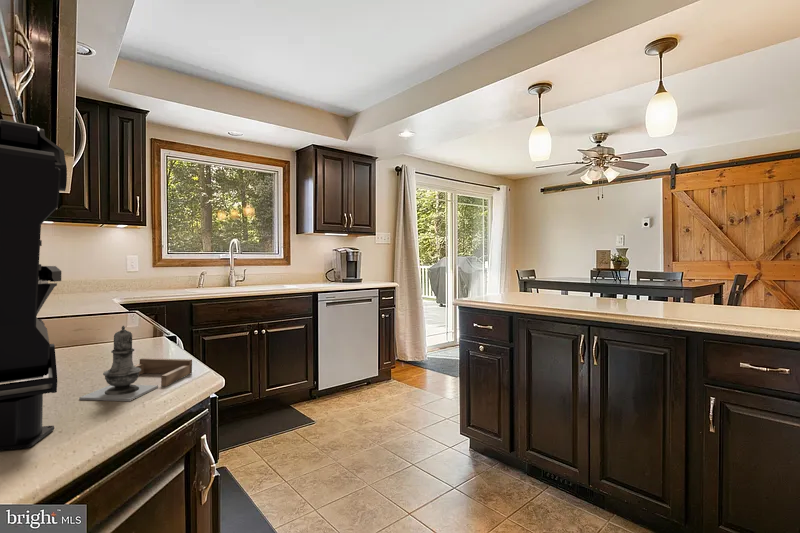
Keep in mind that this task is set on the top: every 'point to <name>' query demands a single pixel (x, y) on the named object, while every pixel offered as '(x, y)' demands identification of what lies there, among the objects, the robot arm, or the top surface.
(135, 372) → the salt shaker
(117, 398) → the slate mat
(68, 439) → the top surface
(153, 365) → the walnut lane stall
